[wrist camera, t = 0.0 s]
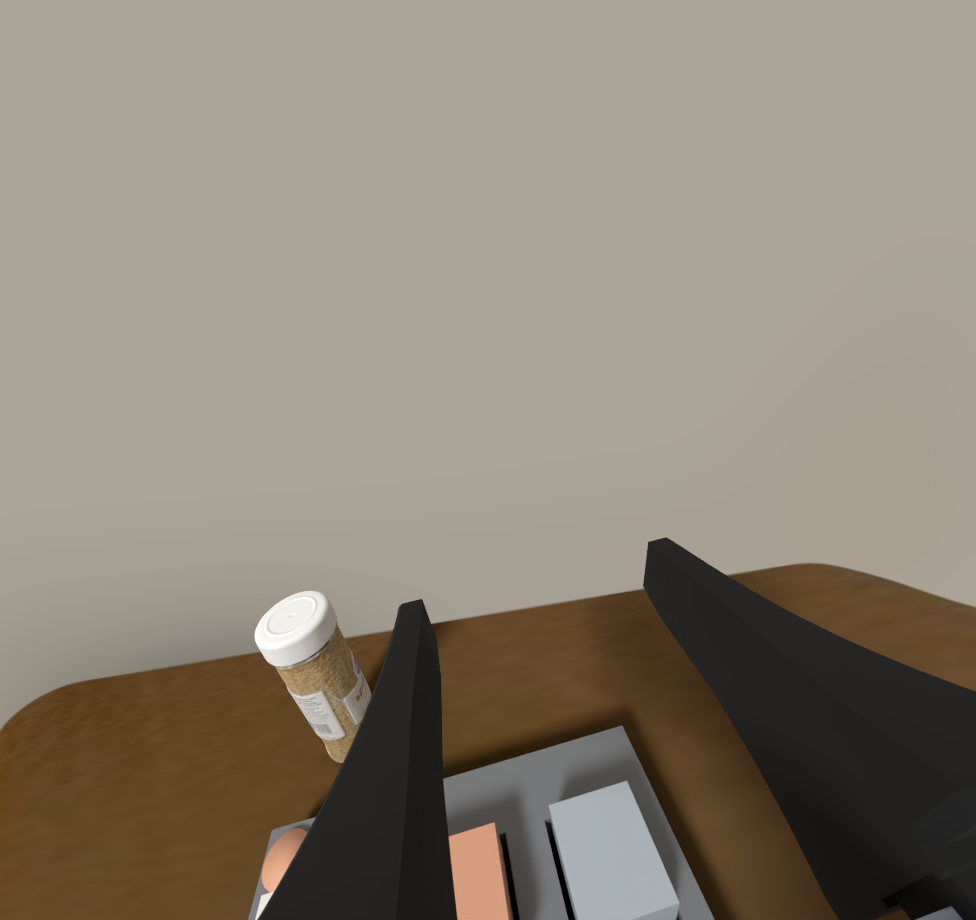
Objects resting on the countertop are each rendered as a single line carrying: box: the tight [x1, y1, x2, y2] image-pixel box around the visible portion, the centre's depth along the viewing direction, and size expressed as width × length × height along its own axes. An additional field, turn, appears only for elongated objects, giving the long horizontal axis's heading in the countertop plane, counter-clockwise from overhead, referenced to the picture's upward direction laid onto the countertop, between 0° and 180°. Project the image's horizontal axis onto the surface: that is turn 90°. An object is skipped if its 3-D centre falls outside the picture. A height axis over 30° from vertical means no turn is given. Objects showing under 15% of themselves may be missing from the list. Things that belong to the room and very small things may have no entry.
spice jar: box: [255, 591, 372, 763], centre depth 26 cm, size 5×5×14 cm
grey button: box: [549, 781, 679, 920], centre depth 19 cm, size 4×4×3 cm
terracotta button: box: [449, 823, 514, 920], centre depth 18 cm, size 4×4×3 cm
